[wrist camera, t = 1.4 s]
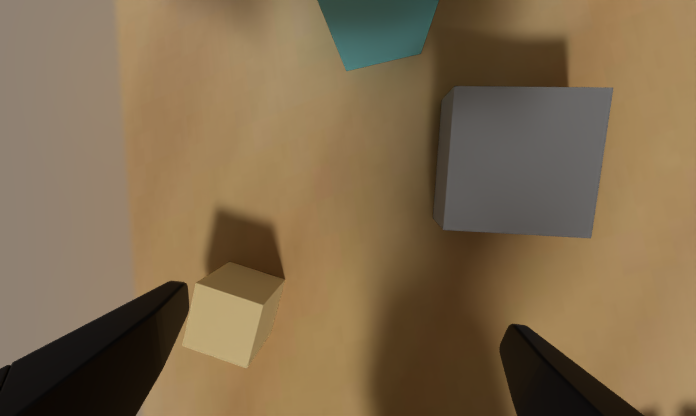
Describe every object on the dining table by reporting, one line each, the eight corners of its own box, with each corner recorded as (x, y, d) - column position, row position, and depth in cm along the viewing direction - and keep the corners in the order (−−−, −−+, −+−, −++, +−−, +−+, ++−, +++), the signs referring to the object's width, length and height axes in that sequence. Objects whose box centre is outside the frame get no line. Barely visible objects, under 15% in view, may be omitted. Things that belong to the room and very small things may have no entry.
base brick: (553, 224, 19) (591, 238, 16) (432, 218, 20) (443, 229, 16) (569, 102, 18) (613, 87, 15) (441, 100, 19) (454, 86, 15)
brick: (285, 279, 22) (263, 305, 18) (271, 332, 22) (247, 368, 18) (230, 261, 22) (195, 282, 18) (217, 313, 22) (182, 346, 19)
